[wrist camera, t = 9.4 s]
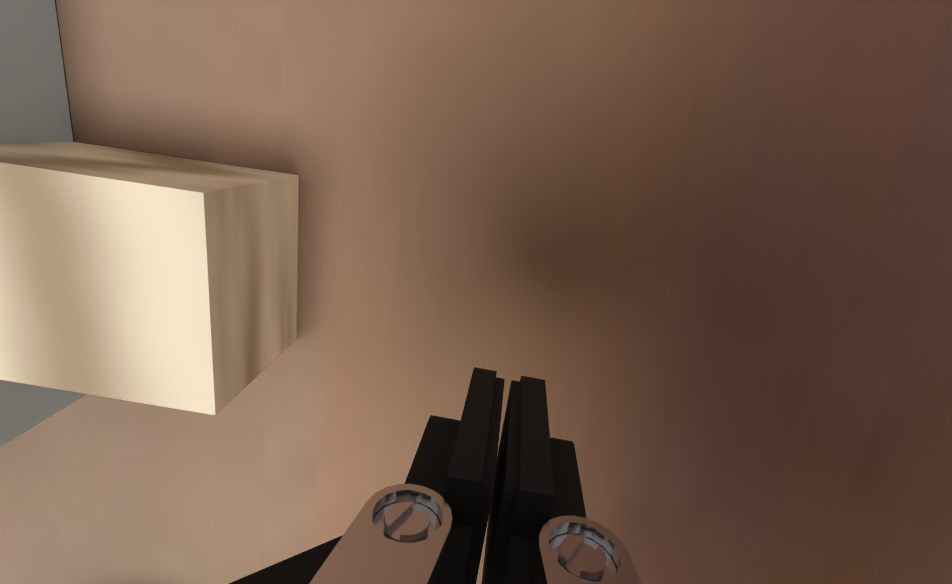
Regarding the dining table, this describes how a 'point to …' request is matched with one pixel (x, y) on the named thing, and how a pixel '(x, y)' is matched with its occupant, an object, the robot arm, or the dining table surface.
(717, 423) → the dining table surface
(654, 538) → the dining table surface
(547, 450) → the robot arm
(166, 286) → the block
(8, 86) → the board
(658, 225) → the dining table surface
